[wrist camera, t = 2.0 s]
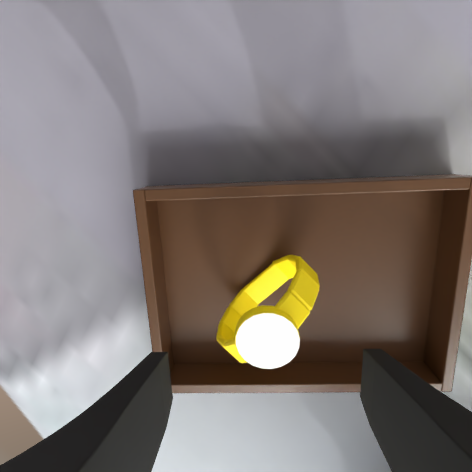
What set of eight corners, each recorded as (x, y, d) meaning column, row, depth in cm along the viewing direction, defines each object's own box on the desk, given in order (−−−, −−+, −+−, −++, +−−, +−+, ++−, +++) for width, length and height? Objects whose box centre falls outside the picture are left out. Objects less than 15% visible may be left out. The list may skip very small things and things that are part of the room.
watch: (284, 234, 18) (301, 270, 12) (316, 266, 18) (347, 317, 12) (212, 299, 19) (197, 361, 13) (244, 329, 19) (242, 401, 14)
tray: (453, 174, 17) (484, 176, 15) (429, 366, 20) (452, 392, 18) (146, 186, 18) (132, 190, 16) (166, 368, 21) (157, 393, 19)
